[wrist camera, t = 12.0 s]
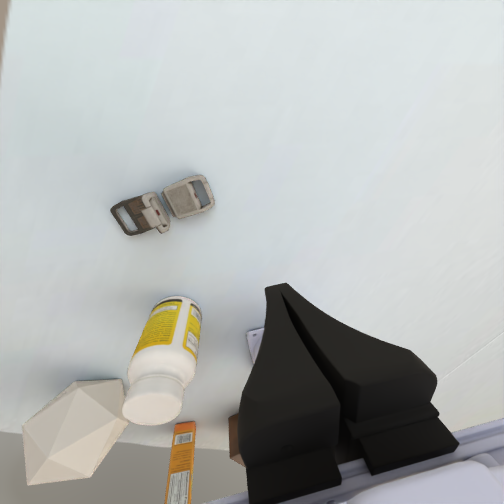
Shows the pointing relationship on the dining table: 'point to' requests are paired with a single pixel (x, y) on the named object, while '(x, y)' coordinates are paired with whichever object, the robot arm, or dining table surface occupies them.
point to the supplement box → (181, 464)
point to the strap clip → (153, 213)
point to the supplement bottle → (163, 362)
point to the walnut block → (234, 440)
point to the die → (74, 431)
